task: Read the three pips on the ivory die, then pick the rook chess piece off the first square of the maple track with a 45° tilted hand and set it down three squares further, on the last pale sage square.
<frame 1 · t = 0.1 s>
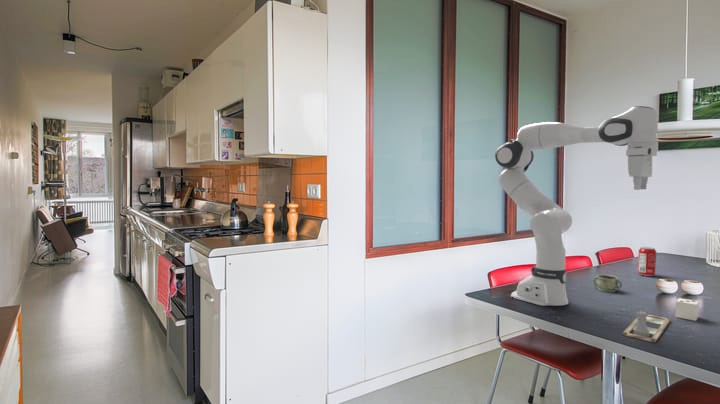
hand: (640, 189, 149), 48 cm above the table, tool pointing down, fingers open, 8 cm apart
soda can: (646, 275, 221), on the table
rook chess piece: (641, 335, 136), resting on track board
track board: (647, 327, 143), on the table
vessel: (606, 290, 192), on the table
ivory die: (686, 317, 154), on the table
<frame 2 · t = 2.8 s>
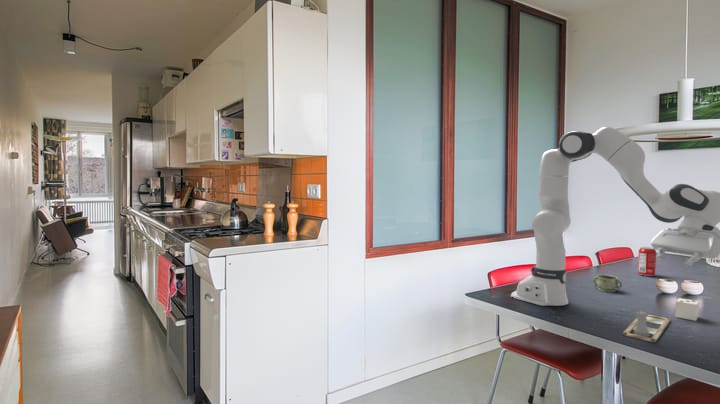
hand: (672, 261, 138), 24 cm above the table, tool tilted 45°, fingers open, 8 cm apart
nothing on the table moved.
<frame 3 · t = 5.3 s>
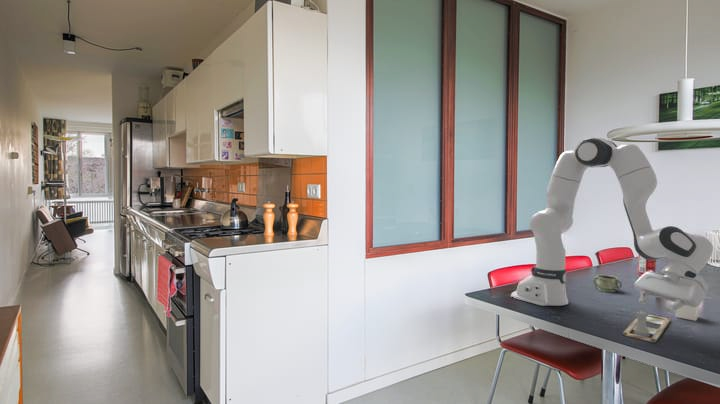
hand: (654, 307, 137), 9 cm above the table, tool tilted 45°, fingers open, 8 cm apart
nothing on the table moved.
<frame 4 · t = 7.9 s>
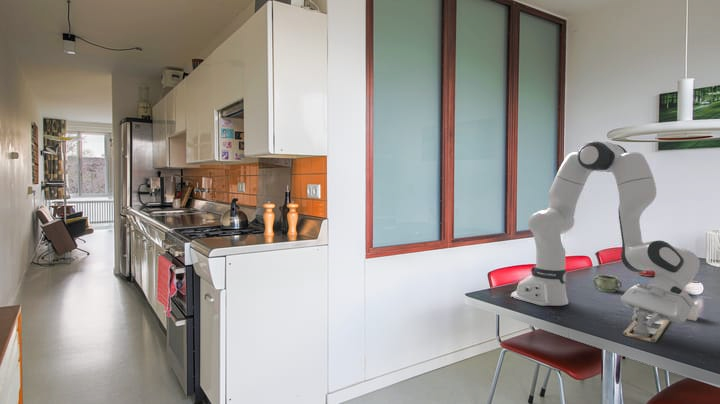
hand: (640, 322, 135), 4 cm above the table, tool tilted 45°, fingers closed on rook chess piece, 3 cm apart
rook chess piece: (641, 335, 136), resting on track board, touching gripper
everything else where it was.
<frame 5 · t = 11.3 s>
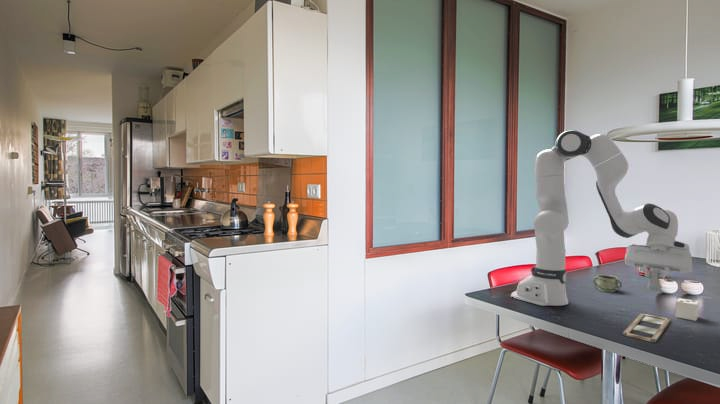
hand: (654, 277, 148), 16 cm above the table, tool tilted 45°, fingers closed on rook chess piece, 3 cm apart
rook chess piece: (654, 290, 149), point 11 cm above the table, touching gripper
everything else where it was.
when the fingers open (6 cm above the table, at t = 14.6 s): rook chess piece moves 2 cm, resting on track board.
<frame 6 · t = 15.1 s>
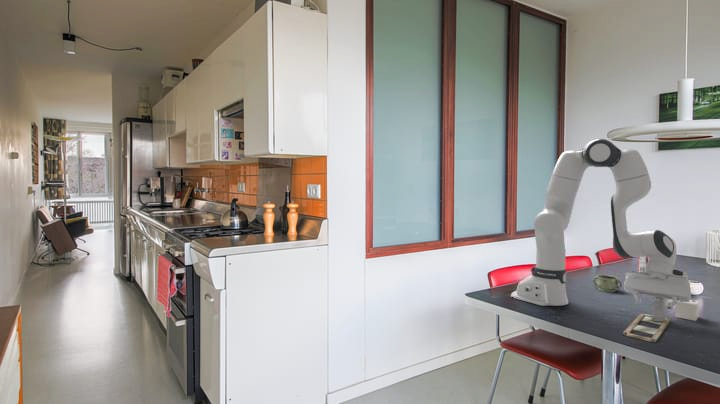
hand: (653, 305, 149), 6 cm above the table, tool tilted 45°, fingers open, 8 cm apart
rook chess piece: (658, 320, 148), resting on track board
everything else where it was.
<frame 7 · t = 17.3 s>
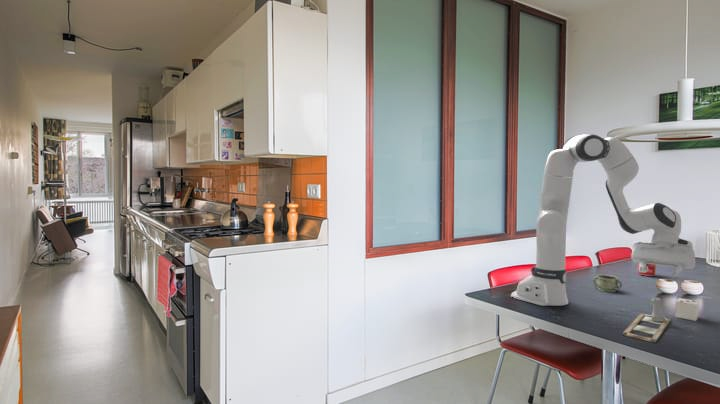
hand: (660, 272, 157), 16 cm above the table, tool tilted 45°, fingers open, 8 cm apart
nothing on the table moved.
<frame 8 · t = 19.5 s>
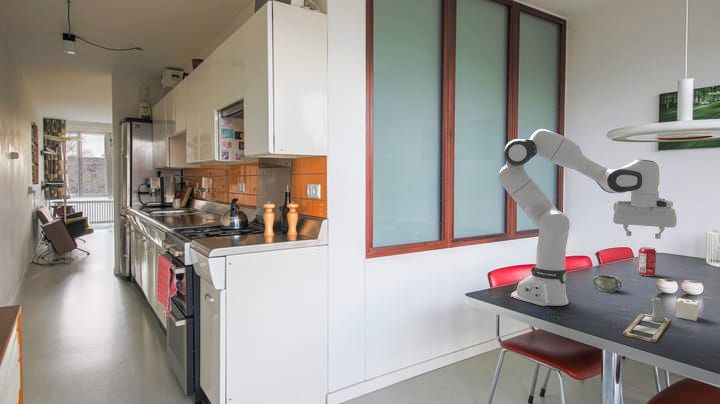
hand: (643, 237, 159), 29 cm above the table, tool pointing down, fingers open, 8 cm apart
nothing on the table moved.
at the end: rook chess piece 1.6 cm from the target spot on the track board, point 0.4 cm above the track board's base; rook chess piece tilted 7°; the gripper is holding nothing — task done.
